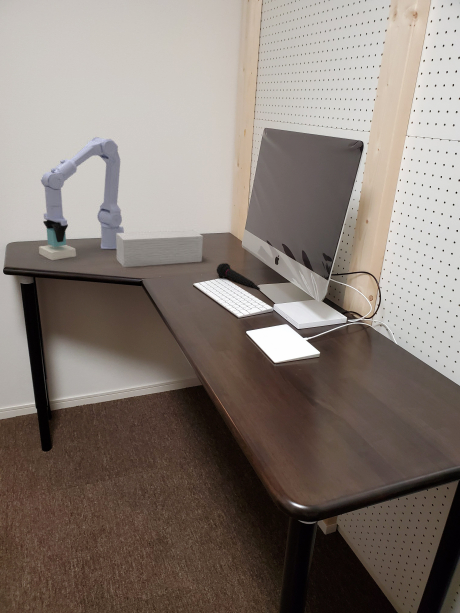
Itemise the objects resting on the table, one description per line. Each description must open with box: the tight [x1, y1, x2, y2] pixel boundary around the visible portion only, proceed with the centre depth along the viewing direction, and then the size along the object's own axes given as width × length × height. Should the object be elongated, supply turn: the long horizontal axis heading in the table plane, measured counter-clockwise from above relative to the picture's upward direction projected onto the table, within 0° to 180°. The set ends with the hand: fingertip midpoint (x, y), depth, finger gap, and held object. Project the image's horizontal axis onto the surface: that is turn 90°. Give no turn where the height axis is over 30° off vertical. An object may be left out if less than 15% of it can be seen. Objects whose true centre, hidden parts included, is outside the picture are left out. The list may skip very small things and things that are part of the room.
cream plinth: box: [38, 244, 77, 261], centre depth 181 cm, size 10×10×3 cm
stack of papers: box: [116, 229, 204, 268], centre depth 183 cm, size 32×11×11 cm, turn 117°
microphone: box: [216, 262, 261, 290], centre depth 165 cm, size 6×6×20 cm
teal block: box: [46, 228, 67, 247], centre depth 178 cm, size 5×5×6 cm
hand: (56, 240), depth 179 cm, fingers closed on teal block, 5 cm apart
